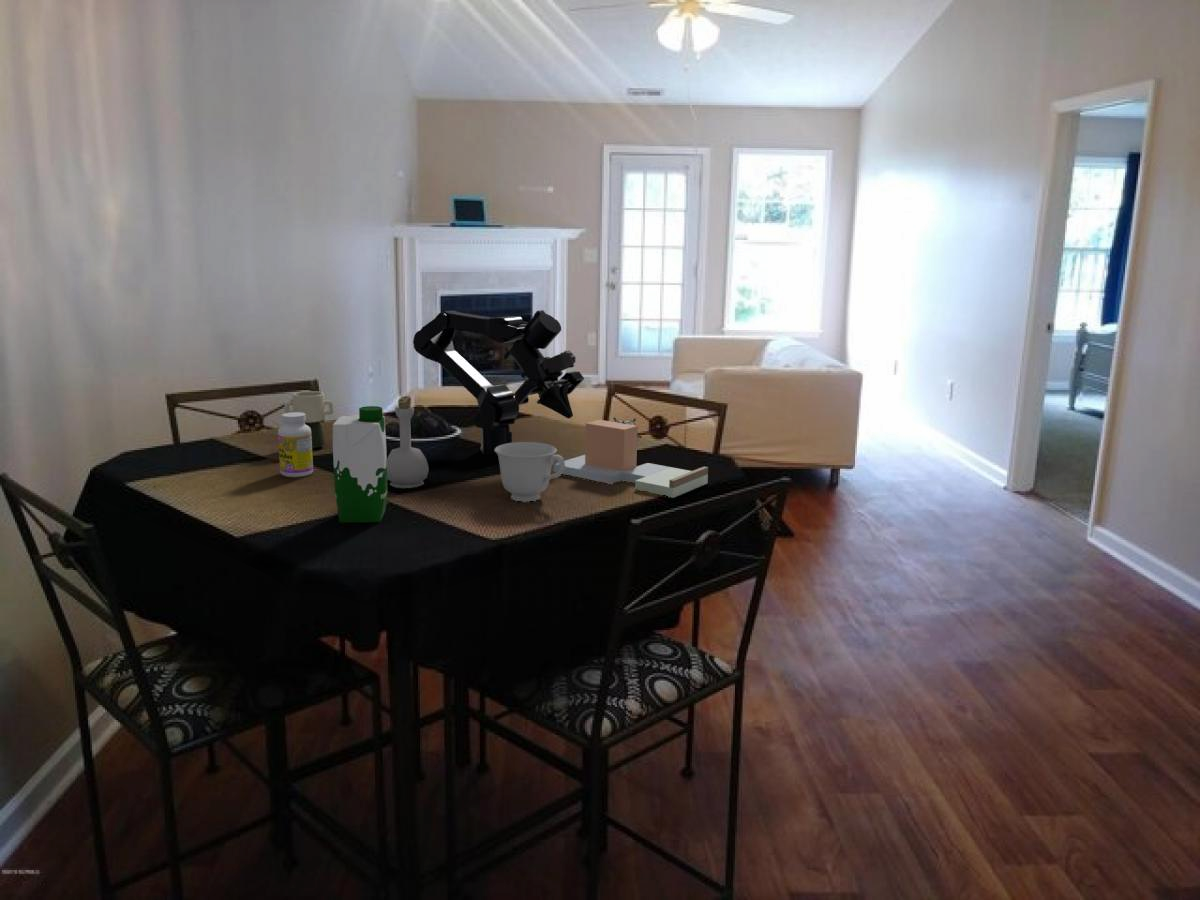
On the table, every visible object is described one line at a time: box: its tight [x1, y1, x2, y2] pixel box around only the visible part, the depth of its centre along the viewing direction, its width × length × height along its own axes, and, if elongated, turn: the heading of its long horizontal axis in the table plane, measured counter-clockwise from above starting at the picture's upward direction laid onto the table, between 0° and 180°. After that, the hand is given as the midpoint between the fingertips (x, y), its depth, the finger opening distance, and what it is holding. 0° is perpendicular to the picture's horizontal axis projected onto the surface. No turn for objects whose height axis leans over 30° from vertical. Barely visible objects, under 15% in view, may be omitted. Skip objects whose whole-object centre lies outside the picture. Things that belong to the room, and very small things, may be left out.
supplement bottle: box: [277, 412, 314, 478], centre depth 195 cm, size 7×7×13 cm
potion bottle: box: [387, 395, 430, 489], centre depth 188 cm, size 9×9×18 cm
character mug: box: [283, 390, 334, 449], centre depth 218 cm, size 11×7×13 cm, turn 103°
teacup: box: [495, 441, 565, 503], centre depth 180 cm, size 12×15×10 cm
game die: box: [613, 416, 643, 442], centre depth 221 cm, size 9×8×10 cm
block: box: [584, 419, 639, 471], centre depth 199 cm, size 10×5×9 cm, turn 55°
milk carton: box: [332, 405, 388, 524], centre depth 166 cm, size 9×9×20 cm
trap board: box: [553, 454, 709, 499], centre depth 198 cm, size 30×14×4 cm, turn 55°
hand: (570, 417), depth 205 cm, fingers closed
